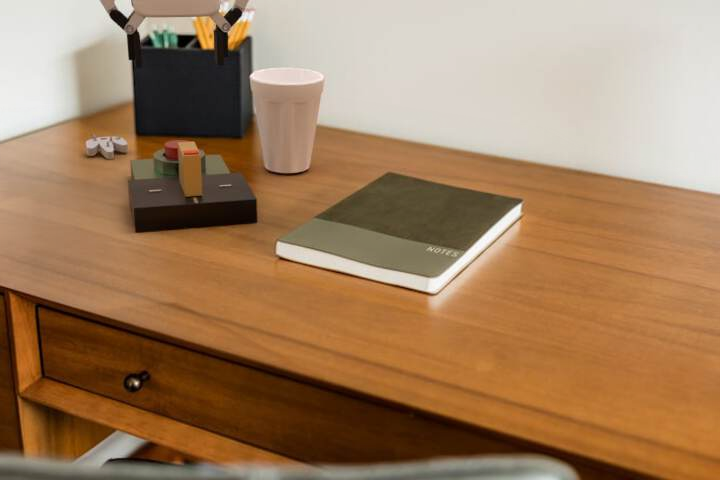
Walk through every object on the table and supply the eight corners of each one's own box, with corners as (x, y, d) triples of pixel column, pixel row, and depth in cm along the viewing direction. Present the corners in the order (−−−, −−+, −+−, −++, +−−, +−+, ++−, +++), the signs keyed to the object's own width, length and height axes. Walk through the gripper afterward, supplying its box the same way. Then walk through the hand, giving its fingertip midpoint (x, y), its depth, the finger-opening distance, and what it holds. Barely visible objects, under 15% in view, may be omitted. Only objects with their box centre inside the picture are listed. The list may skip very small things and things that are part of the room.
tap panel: (135, 232, 102) (133, 206, 101) (129, 202, 111) (127, 178, 110) (257, 222, 106) (256, 197, 105) (241, 194, 115) (241, 170, 114)
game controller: (98, 162, 125) (96, 144, 124) (57, 144, 132) (55, 127, 131) (134, 154, 129) (132, 136, 128) (92, 137, 136) (90, 120, 135)
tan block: (179, 181, 109) (177, 140, 107) (196, 180, 110) (194, 139, 108) (185, 197, 105) (183, 153, 102) (202, 195, 105) (200, 152, 103)
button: (166, 162, 115) (166, 148, 114) (163, 153, 118) (163, 140, 117) (195, 160, 116) (194, 147, 115) (191, 152, 119) (190, 139, 118)
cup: (287, 185, 118) (287, 87, 113) (235, 168, 124) (233, 74, 119) (338, 169, 126) (340, 76, 120) (287, 153, 131) (287, 64, 126)
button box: (136, 198, 112) (134, 167, 111) (131, 175, 120) (129, 146, 119) (232, 191, 116) (231, 161, 114) (220, 169, 124) (219, 141, 122)
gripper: (242, -87, 107) (245, 56, 114) (91, -89, 103) (104, 60, 109) (253, -83, 101) (255, 69, 107) (92, -85, 96) (105, 74, 103)
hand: (179, 64), depth 108 cm, fingers open, 9 cm apart
